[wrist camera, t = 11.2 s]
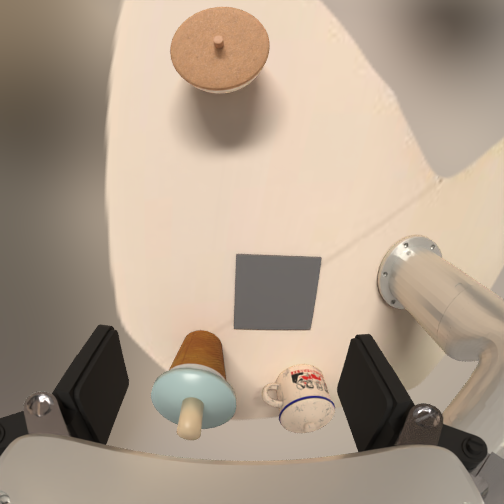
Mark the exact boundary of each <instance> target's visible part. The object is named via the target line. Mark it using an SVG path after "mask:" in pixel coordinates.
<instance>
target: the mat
mask: <svg viewBox="0 0 504 504" xmlns="http://www.w3.org/2000/svg"><path fill="white" fill-rule="evenodd" d="M320 266H321V257H304V256H278V255H252V254H236V280H235V309H234V329H274V330H306V329H311V323H312V317H313V311H314V305H315V299H316V293H317V286H318V280H319V273H320Z"/></svg>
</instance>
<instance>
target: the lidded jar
mask: <svg viewBox="0 0 504 504" xmlns="http://www.w3.org/2000/svg"><path fill="white" fill-rule="evenodd" d="M170 53H171V60H172V63H173V65H174V67H175V69H176V71H177V72H178V73H179V74H180V76H181V77H182V78H183V79H185V80H186V81H187V82H189V83H190V84H191V85H193V86H194V87H196V88H198V89H200V90H203V91H205V92H209V93H217V94H219V93H229V92H233V91H237V90H239V89H241V88H243V87H245V86H247V85H248V84H250V83H251V82H252V81H253V80H254V79H255V78H256V77H257V76H258V74H259V73H260V71H261V70H262V68H263V66H264V65H265V63H266V60H267V57H268V54H269V38H268V34H267V32H266V30H265V28H264V27H263V25H262V24H261V23H260V22H259V21H258V19H256V18H255V17H254V16H252V15H251V14H249V13H247V12H245V11H243V10H240V9H236V8H231V7H215V8H209V9H206V10H203V11H200V12H198V13H196V14H194V15H193V16H191V17H189V18H188V19H187V20H186V21H184V22H183V23H182V25H181V26H180V27H179V28H178V30H177V31H176V33H175V35H174V37H173V39H172V43H171V50H170Z"/></svg>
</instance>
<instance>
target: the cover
mask: <svg viewBox="0 0 504 504" xmlns="http://www.w3.org/2000/svg"><path fill="white" fill-rule="evenodd" d="M151 399H152V402H153V405H154V407H155V408H156V410H157V411H158V412H159V413H160V414H161V415H162V416H163V417H165V418H166V419H168V420H170V421H171V422H173V423H175V424H178V427H177V434H178V435H179V436H180V437H181V438H183V439H186V440H196V439H198V438H199V437H200V435H201V429H208V428H214V427H217V426H220V425H222V424H224V423H226V422H227V421H229V420H230V419H231V418H232V417H233V415H234V413H235V410H236V395H235V392H234V390H233V388H232V387H231V386H230V384H229V383H228V382H227V381H225V380H224V379H223V378H221V377H220V376H218V375H216V374H214V373H212V372H209V371H206V370H202V369H197V368H176V369H172V370H169V371H167V372H164V373H163V374H161V375H160V376H159V377H158V378H157V380H156V381H155V383H154V386H153V389H152V393H151Z"/></svg>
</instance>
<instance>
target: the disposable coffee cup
mask: <svg viewBox="0 0 504 504" xmlns="http://www.w3.org/2000/svg"><path fill="white" fill-rule="evenodd" d="M176 368H197V369H202V370H206V371H209V372H212V373H214V374H216V375H218V376H220V377H221V378H223V379H224V380H225V381H226V375H225V369H224V368H225V367H224V360H223V352H222V344H221V342H220V340H219V338H218V337H217V336H215V335H214V334H212V333H210V332H208V331H201V330H199V331H194V332H191V333H189V334H188V335H187V336H186V337H185V339H184V341H183V343H182V345H181V347H180V349H179V351H178V353H177V355H176V357H175V359H174V361H173V363H172V365H171V367H170V369H169V370H172V369H176Z"/></svg>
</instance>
